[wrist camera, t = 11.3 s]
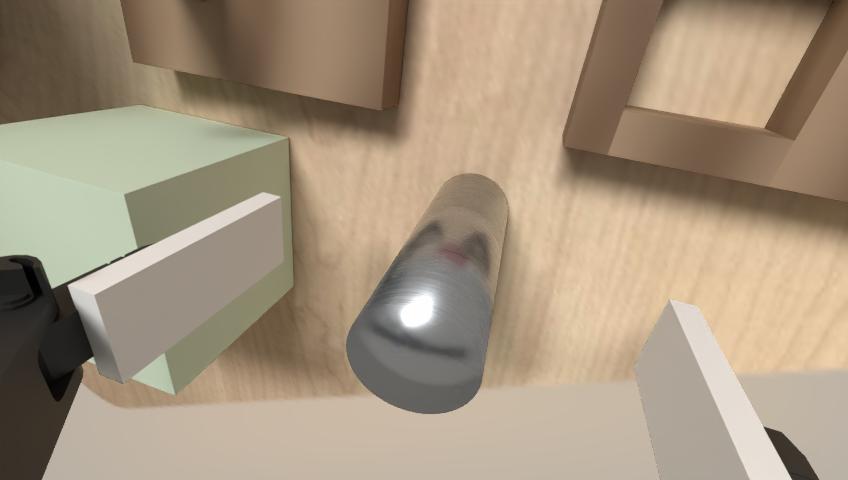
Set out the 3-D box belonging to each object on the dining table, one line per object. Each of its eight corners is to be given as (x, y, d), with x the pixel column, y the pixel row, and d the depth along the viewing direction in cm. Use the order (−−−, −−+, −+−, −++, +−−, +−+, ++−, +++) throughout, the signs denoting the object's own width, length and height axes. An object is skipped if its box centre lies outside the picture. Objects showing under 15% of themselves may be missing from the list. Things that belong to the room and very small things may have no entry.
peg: (427, 229, 19) (339, 384, 10) (444, 164, 17) (355, 284, 9) (494, 251, 19) (460, 431, 10) (519, 186, 17) (502, 335, 8)
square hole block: (562, 135, 16) (563, 146, 14) (669, -224, 11) (691, -274, 9) (920, 203, 13) (974, 227, 12) (1256, -214, 9) (1432, -279, 7)
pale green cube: (170, 248, 25) (12, 332, 18) (140, 104, 21) (-84, 136, 14) (294, 285, 24) (175, 396, 16) (288, 137, 19) (123, 194, 12)
